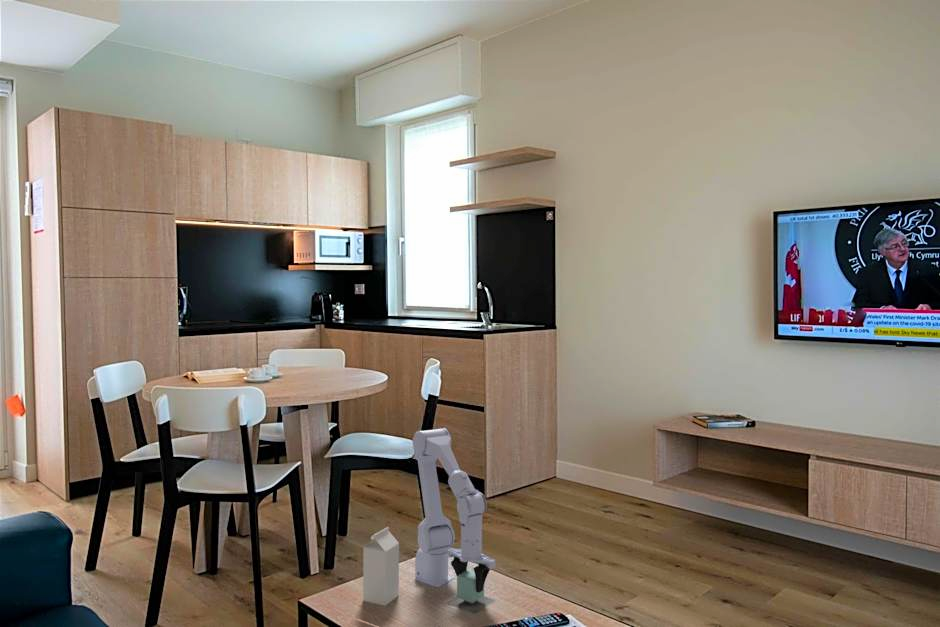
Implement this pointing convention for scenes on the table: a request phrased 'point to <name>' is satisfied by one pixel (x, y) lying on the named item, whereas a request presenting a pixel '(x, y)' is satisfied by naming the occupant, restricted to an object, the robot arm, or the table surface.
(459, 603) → the peg stand
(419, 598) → the table surface
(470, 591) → the mint green cube
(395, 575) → the milk carton
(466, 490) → the robot arm
